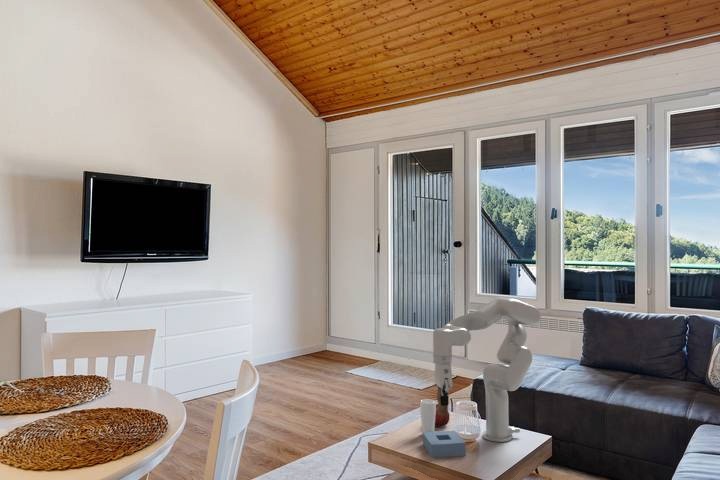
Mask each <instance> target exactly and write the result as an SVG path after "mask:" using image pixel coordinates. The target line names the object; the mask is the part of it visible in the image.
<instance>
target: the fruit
mask: <svg viewBox="0 0 720 480" xmlns="http://www.w3.org/2000/svg"><path fill="white" fill-rule="evenodd" d="M449 421H450V413H449V411H448V415H439V414H438V403H436V415H435V427H445V426H447V424H448V423H450V422H449Z"/></svg>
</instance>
